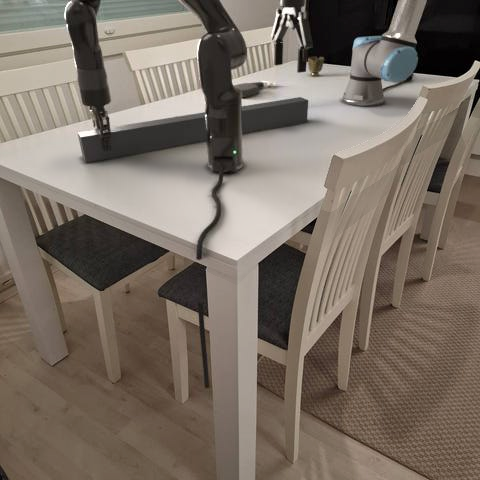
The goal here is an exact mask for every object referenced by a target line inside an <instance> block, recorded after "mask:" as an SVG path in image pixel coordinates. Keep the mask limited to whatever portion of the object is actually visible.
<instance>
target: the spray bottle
mask: <svg viewBox="0 0 480 480" xmlns="http://www.w3.org/2000/svg"><path fill="white" fill-rule="evenodd" d="M233 86H236V87H238V88H240V90H241V95H242V99H244V98H249V97H251V96H254V95H257V94H258V93H259V92H260V89H261V88H262V89H263V88H264V87H270V86H271V87H272V86H277V82H274V81H269V80H261V81H256V82H243V83H238V84H235V85H234V84H233Z"/></svg>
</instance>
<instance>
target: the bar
mask: <svg viewBox="0 0 480 480" xmlns="http://www.w3.org/2000/svg"><path fill="white" fill-rule="evenodd" d="M308 112H309V99H306V98H304V97H301V96H298V97H297V96H296V97H292V98H286V99H279V100H274V101H266V102H261V103H255V104H254V103H253V104H247V105H242V135H244V134H249V133H255V132H261V131H266V130H270V129H277V128H281V127H288V126H292V125H298V124H303V123H308V114H309V113H308ZM110 130H111V137H110V143H111V150H110V151H104V150H103V147H102V141H101V137H100V133H99V130H97V129H96V130H95V129H90V130H84V131H78V132H77V137H78V141H79V146H80V151H81V155H82V159H83V160H84V162H85V164H88V163H93V162H99V161H105V160H110V159H114V158H121V157H126V156H131V155H138V154H142V153H148V152H152V151H158V150H164V149H168V148H174V147H179V146H186V145H190V144H191V145H192V144H196V143H202V142H207V136H206V118H205V111H203V112H197V113H191V114H184V115H179V116H172V117H166V118H161V119H153V120H147V121H140V122H135V123H129V124H122V125H115V126H110ZM103 133H107V131H106V130H104V131H103Z"/></svg>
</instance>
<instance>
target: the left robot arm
mask: <svg viewBox="0 0 480 480" xmlns="http://www.w3.org/2000/svg"><path fill="white" fill-rule="evenodd" d="M178 2H180V4H182V5H183V7H185V8H186V9H187V10H188V11H189V12H190V13H191V14H193V16H194V17H195V18H196V19H197V20H198V21H199V23H200V24H201V26H202V27H203V29H204V31H205V32H206V33H204V34H203V35H202V36H201V37H200V39H199V41H198V42H197V43H198V44H197V49H196V61H197V69H198V78H199V85H200V90H201V92H202V94H203V99H204V100H203V101H204V112H205V118H206V136H207V141H206V151H207V152H206V153H207V168H208V169H209V170H211V172H212V173H218V181H217V183H216V184H215V185H214V187H213V188H212V190H211V197H212V199H213V201H214V202H215V205H216V209H215V215H214V218H213V220H212V221H211V222H210V223H209V224H208V226H206V227H205V228H204V229H203V231H202V232H201V233H200V235H199V237H198V240H197V242H196V243H197V244H196V255H195V256H196V260H197V261H201V260H202V258H203V243H204V240H205V238H206V236H207V235H208V234H209V233H210V232H211V231H212V229H214V228H215V227H216V225H217V224H218V222H219V220H220V218H221V214H222V204H221V201H220V199H219V197H218V195H217V192H218V190H219V189H220V187H221V186H222V185H223V180H224V173H237V171H239V170H240V169H242V168H243V166H244V159H243V134H242V106H243V104H242V103H243V102H242V101H243V100H242V99H243V98H242V95H241V90H240V88H238V87H236V86H234V84H233V79H232V77H233V76H232V71H234V70H237V69H239V68H240V67H243V65H244V64H245V62H246V61H247V57H248V47H247V44H246V40H245V38H244V36H243V33H242V32H241V31H240V29H239V28H238V26H237V25H236V23H235V22H234V20H233V19H232V17H231V16H230V14H229V13H228V11H227V10H226V8H225V7H224V5H223V3H222V2H221V0H178ZM101 3H102V0H69V1H68V3H67V5H66V7H65V9H64V20H65V24H66V28H67V32H68V35H69V39H70V42H71V45H72V53H73V59H74V64H75V70H76V80H77V84H78V89H79V95H80V99H81V102H82V105H83V106H85V107H87V108H88V109H89V114H90V116H91V121H92V126H93V128H94V130H96V129H97V130H99V133H100V137H101V141H102V147H103V150H104V151H110V150H111V143H110V137H111V130H110V127H111V122H110V116H109V113H108V110H106V108H105V106H107V105H110V104H111V103H112V96H111V91H110V85H109V80H108V74H107V71H106V67H105V61H104V55H103V50H102V47H101V45H100V39H99V31H98V23H97V17H98V13H99V9H100V6H101ZM104 130H106V131H107V133H103V131H104ZM197 312H198V314H197V315H198V325H199V338H200V350H201V358H202V369H203V382H204V383H203V384H204V388H206V389H209V388H210V377H209V376H210V375H209V364H208V352H207V341H206V328H205V316H204V315H205V314H204V313H205V312H204V302H200V301H199V300H197Z"/></svg>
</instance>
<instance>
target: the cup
mask: <svg viewBox="0 0 480 480" xmlns="http://www.w3.org/2000/svg"><path fill="white" fill-rule="evenodd" d="M324 61H325V57H324V56H319V57H318V56H309V57H308V56H307V67H308V70H309V72H310V76H312V77H318V76H319V75H320V72H321V71H322V69H323V66H324Z"/></svg>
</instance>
